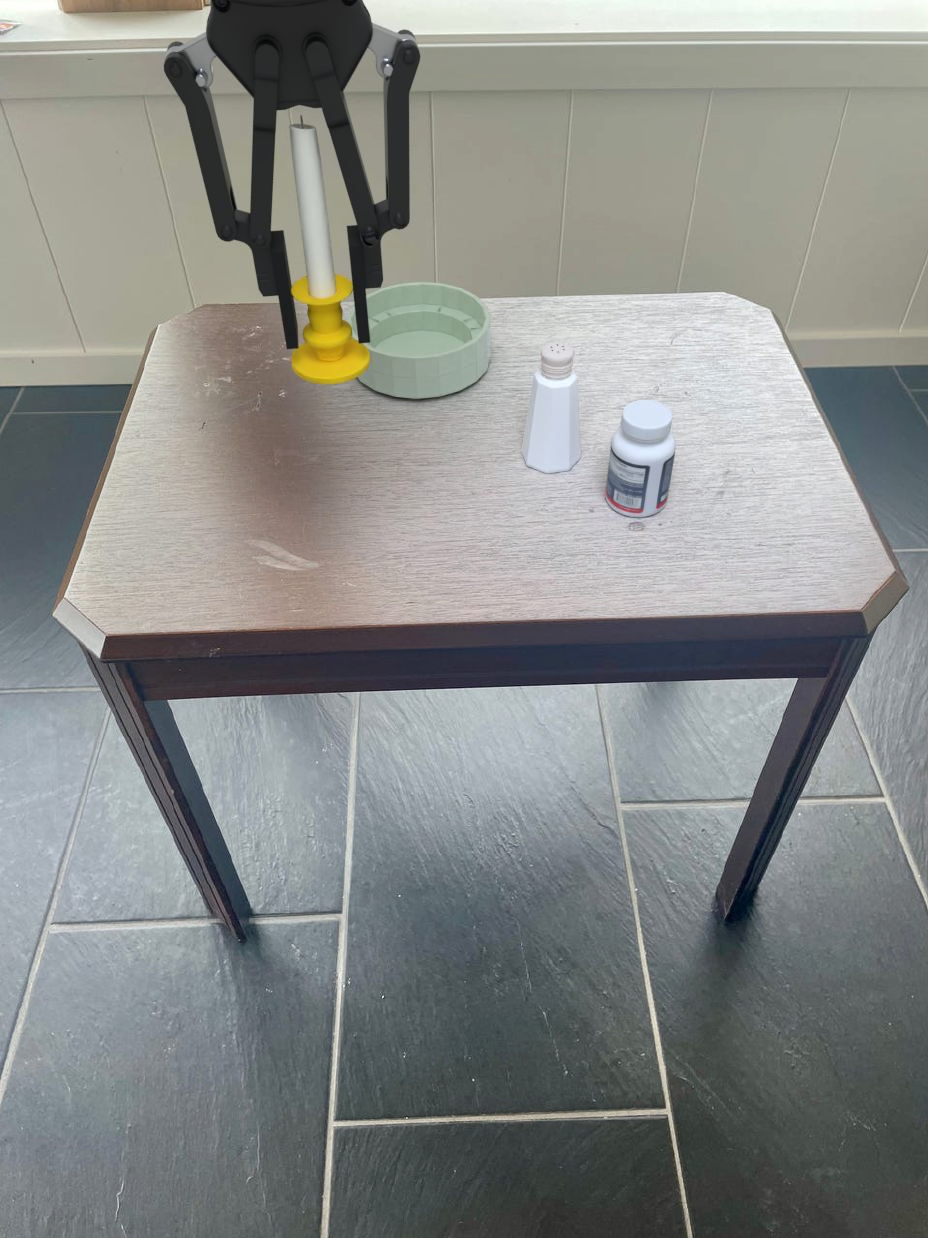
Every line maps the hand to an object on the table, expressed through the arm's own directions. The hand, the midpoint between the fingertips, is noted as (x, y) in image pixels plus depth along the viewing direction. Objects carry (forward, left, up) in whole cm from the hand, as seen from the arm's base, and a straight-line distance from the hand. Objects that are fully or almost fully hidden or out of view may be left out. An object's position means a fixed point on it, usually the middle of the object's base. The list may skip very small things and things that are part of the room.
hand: (327, 333), depth 63 cm
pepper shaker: (+18, +11, -21) cm, 30 cm away
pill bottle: (+24, +4, -21) cm, 32 cm away
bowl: (+8, +28, -21) cm, 36 cm away
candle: (0, 0, -2) cm, 2 cm away
